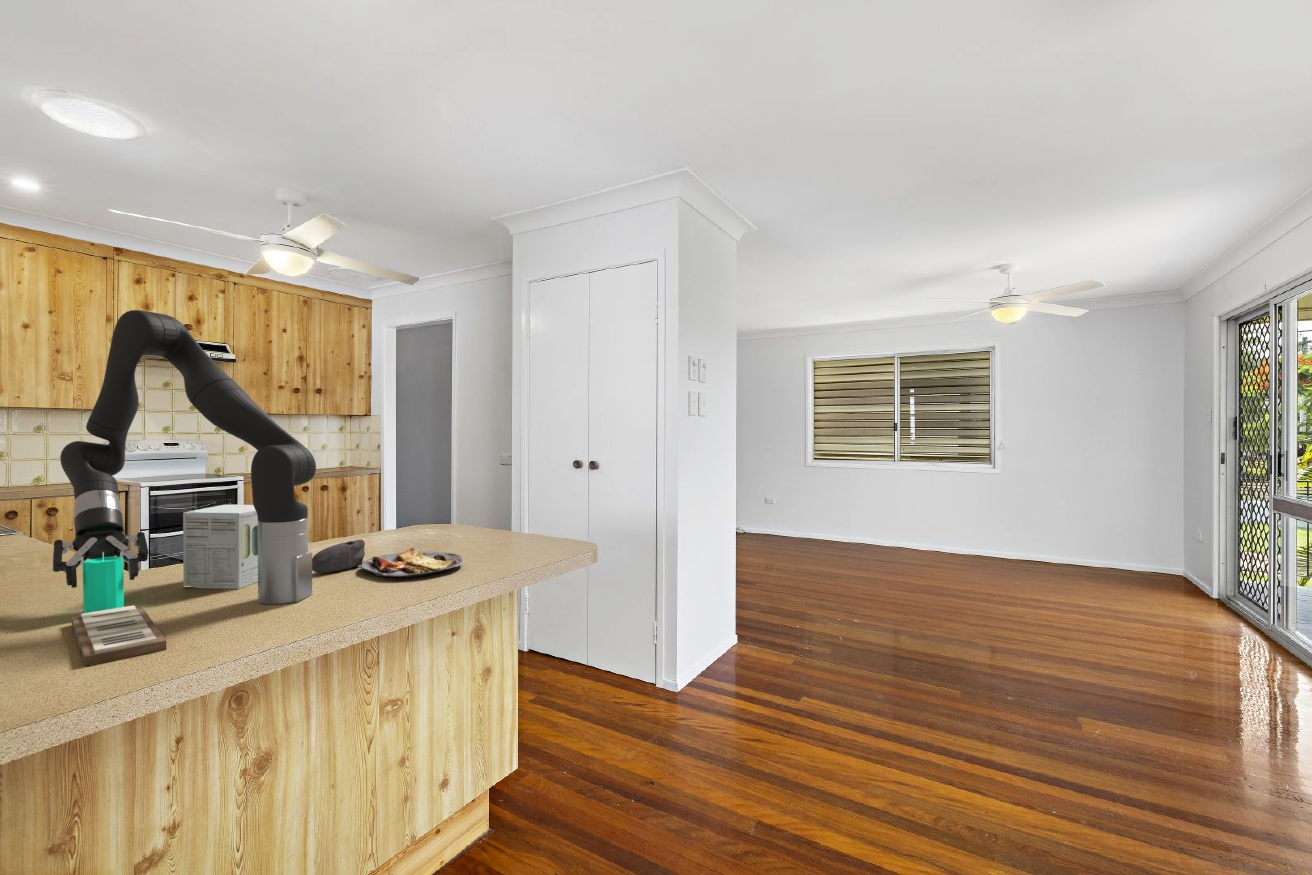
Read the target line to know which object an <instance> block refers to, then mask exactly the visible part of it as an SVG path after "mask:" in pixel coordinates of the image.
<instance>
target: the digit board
mask: <svg viewBox="0 0 1312 875" xmlns="http://www.w3.org/2000/svg"><path fill="white" fill-rule="evenodd" d="M71 627H72V630H73V629H74V630H73V634H74V636H75V639H76V642H77V645H78V649H79V648H80V649H79V651H81V652H80V654H82V655H81V658H82V657H83V658H82V661H83V660H84V661H83V663H85V664H84V666H85V667H88V666H87V665H90V666H92V665H91V664H94V665H97V664H96V663H99V664H102V663H103V664H104V663H108V662H112V661H118V660H122V659H127V658H132V657H136V656H142V655H145V654H146V655H147V654H150V653H156V652H160V651H165V650H168V649H167V639H166V638H165V636H164V635H163V633H162V632H161V631H160V629H159V628H158V626H157V625H156V624H155V622H154V621H153V619H152V618H151V617H150V615H149V614H148V613H147V611H146V610H145V609H144V607H143V605H139V606H138V605H137V606H135V605H128V606H124V607H120V608H114V609H108V610H102V611H96V612H90V613H84V612H83V613H80V615H77V616H72V617H71ZM117 659H118V660H117Z"/></svg>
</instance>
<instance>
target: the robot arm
mask: <svg viewBox="0 0 1312 875" xmlns="http://www.w3.org/2000/svg"><path fill="white" fill-rule="evenodd" d="M144 355H152V356H159V357H161V358H164V359H165V360H167V361H168V362H169V363H170V364H172V365H173V367H175V368H176V370H177V371H179V373H180V374H181V375H182V377H183V381H184V382H183V384H184V389H185V395H186V397H187V399H188V401H189V402H190V404H191V405H192V406H193V407H194V408H195V409H196V410H197V411H198V412H199V413H200V414H201V415H202V416H203V417H204V418H205V419H206V420H207V421H208V422H210V423H211V424H212V425H214V426H215V427H217V428H219V429H220V430H222V431H224V432H226V433H227V434H229V435H231V436H234V437H235V438H238V440H239V439H240V440H241V441H242V442H244V443H247V444H248V445H250V446H251V447H253V448H254V449H256V450H257V451H256V453H255V454H254V456H253V458H252V461H251V465H250V467H251V468H250V481H251V494H252V505H254V508H255V510H256V512H257V517H258V582H257V598H258V599H257V602H258V603H259V604H263V605H281V604H288V603H298V602H300V601H302V600H304V599H306V598H308V597H310V596H311V595H312V594H313V570H312V558H313V551H309V548H308V546H309V543H308V541H309V537H308V536H309V534H308V533H309V532H308V530H309V528H308V526H309V525H308V524H309V523H308V520H309V517H308V516H309V514H308V506H307V505H306V504H305V503H302V502H300V501H299V500H298V499H297V498H296V495H295V487H297V486H302V485H304V484H306V483H308V482H310V481H311V480H312V479H313V478H314V476H315V475H316V471H317V464H316V460H315V458H314V455H313V454H312V452H311V451H310V450H309V449H308V448H307V447H306V446H305V445H304V444H302V443H301V442H300V441H299V440H298V439H296V438H295V437H294V436H292V435H291V434H290V433H289V432H287V431H286V430H285V429H283V428H282V427H281V426H280V425H279V424H277V423H276V422H275V421H274V420H273V419H272V418H271V416H270V415H269V414H267V412H265V411H264V410H263V409H262V408H261V406H259V405H258V404H257V403H256V402H255V401H254V400H253V399H252V398H251V397H250V395H249V394H248V393H247V392H246V391H245V390H244V389H243V388H242V387H241V386H240V385H239V384H238V383H237V382H236V381H235V380H234V379H233V378H231V376H229V375H228V374H227V373H226V372H225V371H224V370H223V368H222V367H220V366H219V365H218V364H217V362H216V361H214V359H212V358H211V357H210V356H209V354H207V353H206V352H205V350H204V349H203V348H202V346H200V344H199V343H198V341H197V340H196V339H195V337H193V335H192V334H191V332H190V331H189V330H188V329H187V328H186V327H185V325H184V324H183V323H182V322H181V321H179V320H178V319H177V318H176V317H173V316H170V315H167V314H165V313H158V312H153V311H148V310H147V311H146V310H141V309H132V310H128V311H126V312H124V313H123V314H122V315H121V316H119V318H118V319H117V322H116V324H115V326H114V329H113V334H112V338H111V341H110V348H109V352H108V357H107V363H106V367H105V372H104V377H103V382H102V386H101V389H100V391H99V394H98V397H97V400H96V402H95V404H94V406H93V408H92V410H91V413H90V415H89V417H88V420H87V422H86V426H85V428H86V431H87V432H88V433H89V434H91V435H92V436H94V437H97V438H99V439H103V440H105V441H108V444H104V443H97V442H90V441H85V440H84V441H83V440H82V441H81V440H76V441H71V442H69V443H68V444H66V445H65V446H64V447H63V449H62V450H61V452H60V456H59V458H60V466H61V468H62V470H63V472H64V474H65V475H66V476H67V479H68V480H69V483H70V484H71V486H72V488H73V493H74V494H73V496H74V506H73V525H74V526H73V527H74V539H73V541H64V542H63V540H62V539H56V540H54V542H53V555H52V557H53V558H52V571H53V573H54V572H55V573H58V572H64V573H65V580H66V582H65V583H66V585H67V586H71V589H74V588H77V587H78V586H77V585H78V578H77V577H78V576H77V575H78V574H77V570H78V568H79V567H80V566H83V562H86V561H88V560H91V559H96V558H102V557H103V552H104V557H110V556H112V557H118V558H122V557H123V562H125V563H126V564H127V567H128V574H129V575H128V576H129V577H128V578H129V581H134V580H135V578H136V577H138V576H139V573H140V572H139V571H140V570H139V563H140V562H146V561H148V559H149V548H148V543H147V539H146V538H147V537H146V534H145V532H143V531H139V532H137V533H136V534H134V535H133V534H132V535H129V536H128V535H127V534H126V533H125V526H124V518H123V509H122V503H121V501H120V494H119V486H118V481H117V479H116V478H115V477H114V476H115V475H116V474H119V473H120V472H121V471H122V470H123V468H124V467H125V461H126V443H127V439H128V438H127V436H128V433H129V430H130V428H131V425H132V423H133V421H134V419H135V418H136V415H137V412H138V409H139V392H138V389H137V385H136V384H137V383H136V378H135V374H136V369H137V365H138V364H139V362H140V361H141V359H142V357H143V356H144ZM128 543H131V545H132V546H134V547H137V552H138V553H136V552H134V551H133V550H131V549H130V547H129V546H127V545H128ZM70 549H73V550H74V551H75V553H74V555H73V556H72V557H71V558H69V560H68V561H63V554H66V553H68V552H69V550H70Z"/></svg>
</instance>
